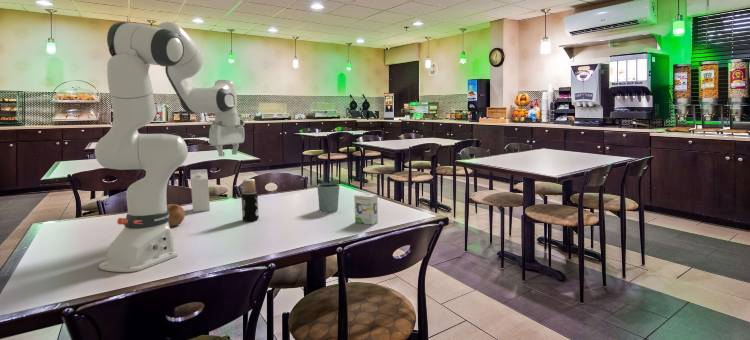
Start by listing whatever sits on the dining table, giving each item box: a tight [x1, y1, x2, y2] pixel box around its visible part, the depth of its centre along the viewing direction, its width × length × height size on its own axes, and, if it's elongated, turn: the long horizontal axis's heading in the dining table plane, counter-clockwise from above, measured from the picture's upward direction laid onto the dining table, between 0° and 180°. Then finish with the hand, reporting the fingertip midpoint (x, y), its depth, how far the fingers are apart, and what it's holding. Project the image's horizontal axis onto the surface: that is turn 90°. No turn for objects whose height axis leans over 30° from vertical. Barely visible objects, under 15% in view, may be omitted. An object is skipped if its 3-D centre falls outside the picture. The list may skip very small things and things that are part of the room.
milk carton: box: [190, 168, 211, 213], centre depth 197 cm, size 7×7×19 cm
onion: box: [167, 203, 186, 227], centre depth 172 cm, size 10×9×10 cm
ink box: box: [353, 192, 379, 226], centre depth 174 cm, size 9×5×12 cm, turn 62°
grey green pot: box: [316, 183, 340, 213], centre depth 196 cm, size 10×10×12 cm
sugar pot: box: [242, 178, 256, 193], centre depth 178 cm, size 5×5×5 cm
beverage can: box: [241, 190, 260, 223], centre depth 179 cm, size 7×7×12 cm
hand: (228, 155), depth 174 cm, fingers open, 8 cm apart
